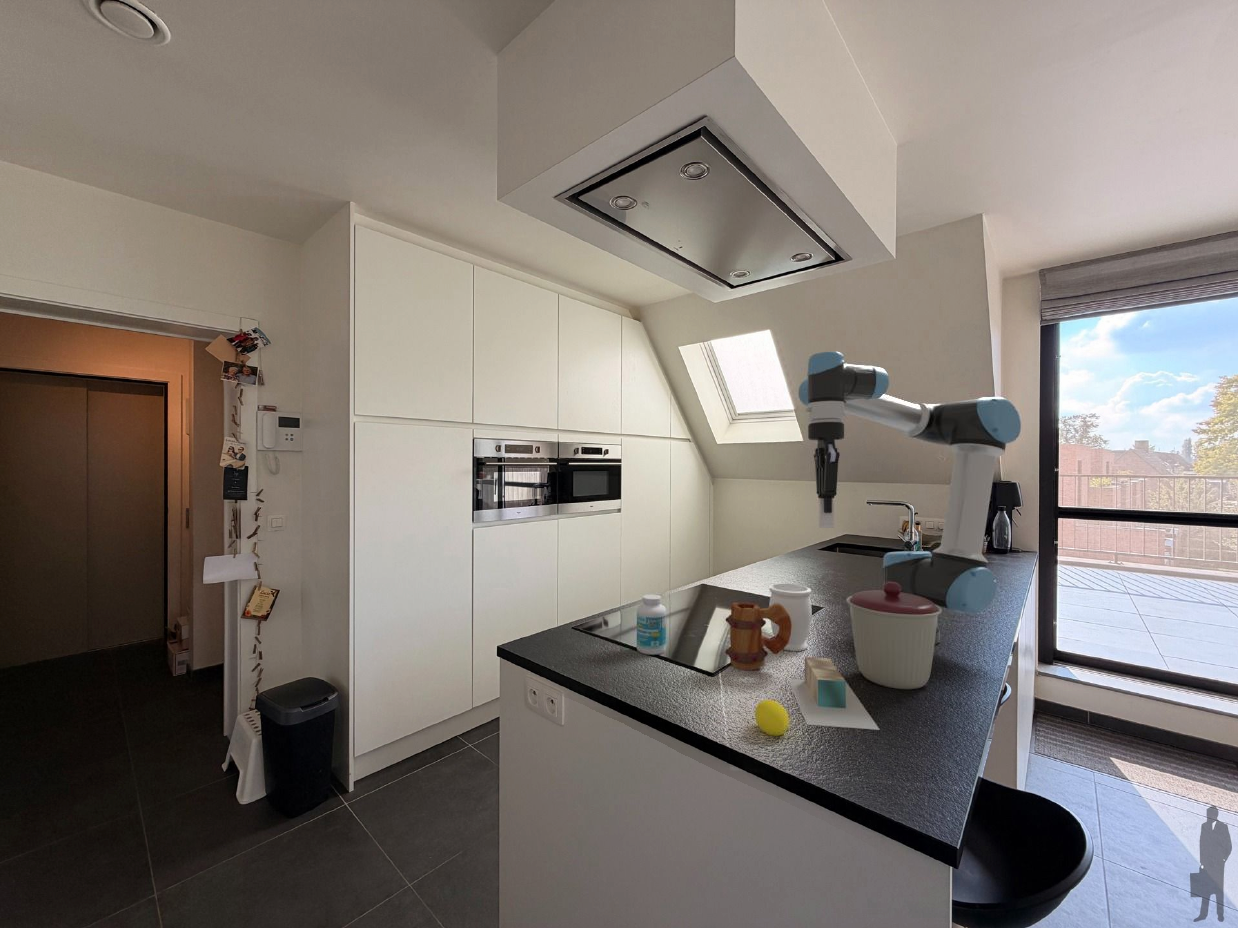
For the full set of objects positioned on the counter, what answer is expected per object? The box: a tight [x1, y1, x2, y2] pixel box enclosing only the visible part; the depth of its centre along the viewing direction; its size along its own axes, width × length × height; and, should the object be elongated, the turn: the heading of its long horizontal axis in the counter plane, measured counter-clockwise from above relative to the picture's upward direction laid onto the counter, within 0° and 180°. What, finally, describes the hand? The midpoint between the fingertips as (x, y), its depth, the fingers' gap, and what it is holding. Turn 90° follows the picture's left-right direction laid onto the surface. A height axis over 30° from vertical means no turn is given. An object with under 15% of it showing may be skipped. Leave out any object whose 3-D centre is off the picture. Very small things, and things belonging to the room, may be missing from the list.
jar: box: [768, 583, 813, 652], centre depth 132 cm, size 11×10×15 cm
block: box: [804, 656, 847, 708], centre depth 103 cm, size 5×5×12 cm
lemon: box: [754, 699, 790, 737], centre depth 88 cm, size 7×5×5 cm
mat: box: [787, 678, 881, 731], centre depth 99 cm, size 12×20×1 cm, turn 171°
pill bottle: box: [636, 594, 667, 656], centre depth 129 cm, size 8×7×14 cm
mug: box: [724, 602, 792, 671], centre depth 117 cm, size 15×8×15 cm, turn 70°
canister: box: [846, 582, 943, 690], centre depth 111 cm, size 18×18×21 cm
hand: (826, 527), depth 115 cm, fingers closed
